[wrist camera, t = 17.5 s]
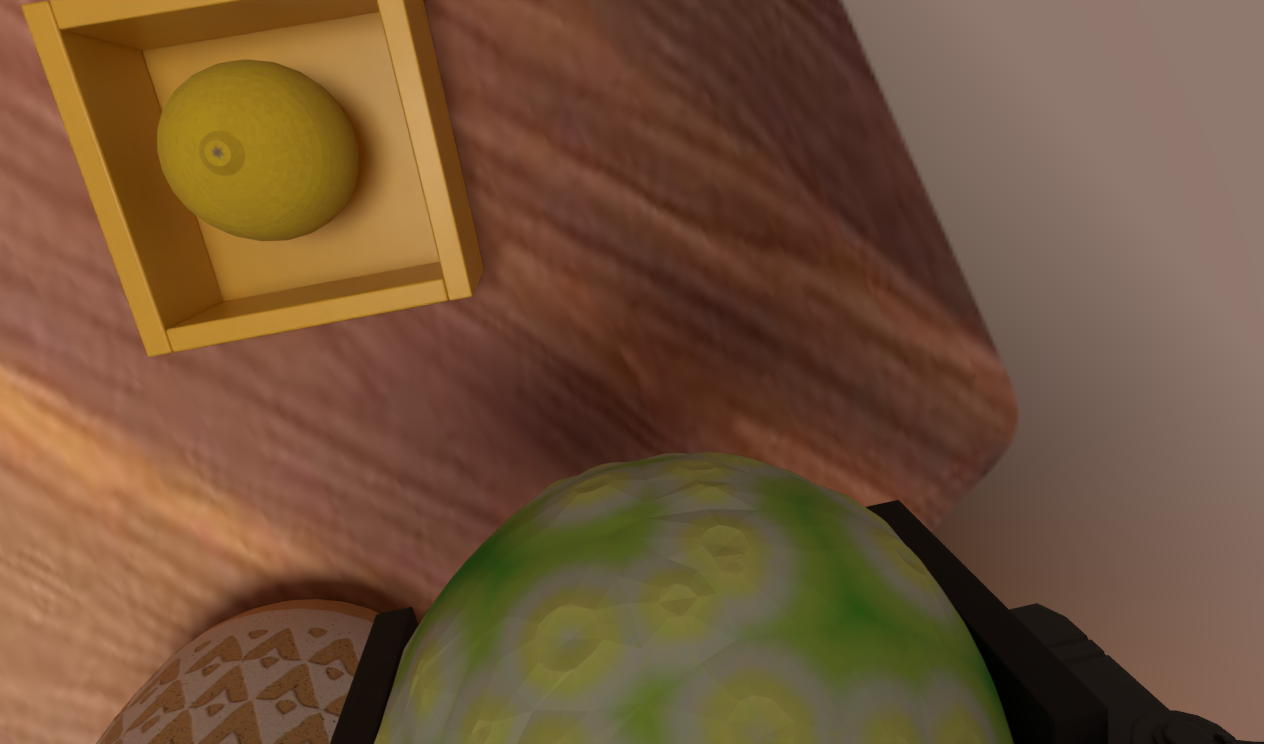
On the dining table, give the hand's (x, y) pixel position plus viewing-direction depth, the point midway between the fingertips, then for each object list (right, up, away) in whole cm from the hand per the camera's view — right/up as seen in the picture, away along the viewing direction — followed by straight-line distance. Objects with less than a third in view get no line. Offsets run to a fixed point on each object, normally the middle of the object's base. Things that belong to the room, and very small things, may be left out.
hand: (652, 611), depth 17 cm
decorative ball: (0, 0, +1) cm, 1 cm away
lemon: (-13, +13, +12) cm, 22 cm away
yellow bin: (-12, +13, +13) cm, 22 cm away
